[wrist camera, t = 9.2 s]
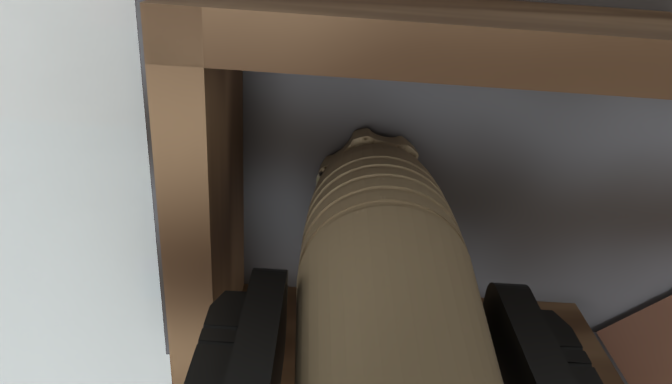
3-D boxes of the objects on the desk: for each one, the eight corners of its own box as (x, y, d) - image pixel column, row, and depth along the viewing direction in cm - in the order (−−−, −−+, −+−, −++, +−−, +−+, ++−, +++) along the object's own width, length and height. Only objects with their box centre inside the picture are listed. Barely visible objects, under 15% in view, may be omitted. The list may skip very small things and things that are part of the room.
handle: (277, 241, 19) (120, 1059, 5) (318, 55, 16) (207, 801, 3) (414, 269, 19) (584, 1087, 6) (478, 94, 16) (1087, 891, 3)
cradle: (136, -122, 15) (24, -142, 10) (921, -61, 16) (1225, -50, 10) (173, 336, 22) (120, 470, 17) (712, 367, 23) (827, 506, 17)
